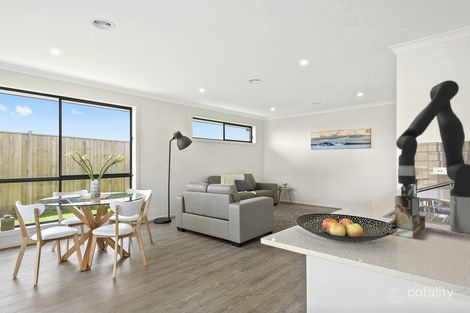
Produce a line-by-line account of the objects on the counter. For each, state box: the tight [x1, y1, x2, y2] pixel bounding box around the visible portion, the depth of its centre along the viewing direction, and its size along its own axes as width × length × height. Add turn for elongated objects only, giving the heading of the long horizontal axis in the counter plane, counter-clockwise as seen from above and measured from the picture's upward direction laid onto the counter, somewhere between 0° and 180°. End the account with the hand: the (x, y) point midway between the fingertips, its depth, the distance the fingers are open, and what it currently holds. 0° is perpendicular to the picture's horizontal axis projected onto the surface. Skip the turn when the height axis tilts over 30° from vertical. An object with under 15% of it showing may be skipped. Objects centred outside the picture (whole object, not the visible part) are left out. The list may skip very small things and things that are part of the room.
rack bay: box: [388, 214, 426, 240], centre depth 127 cm, size 13×27×6 cm, turn 136°
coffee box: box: [394, 195, 420, 231], centre depth 131 cm, size 9×6×16 cm
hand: (407, 206), depth 131 cm, fingers closed on coffee box, 8 cm apart
